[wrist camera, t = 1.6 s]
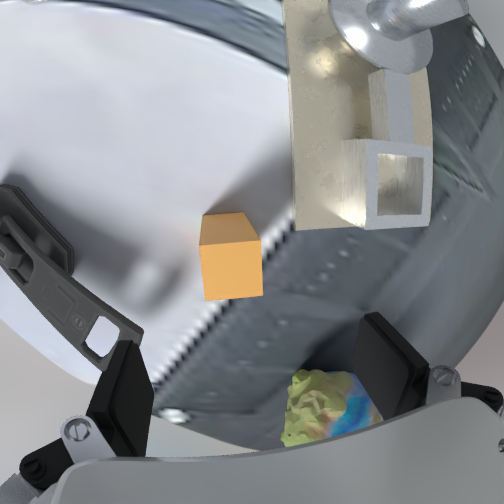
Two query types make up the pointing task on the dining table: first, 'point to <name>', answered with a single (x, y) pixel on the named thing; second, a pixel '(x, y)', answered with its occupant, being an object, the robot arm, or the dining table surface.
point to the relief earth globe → (326, 406)
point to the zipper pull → (53, 276)
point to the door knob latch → (361, 110)
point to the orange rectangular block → (230, 257)
